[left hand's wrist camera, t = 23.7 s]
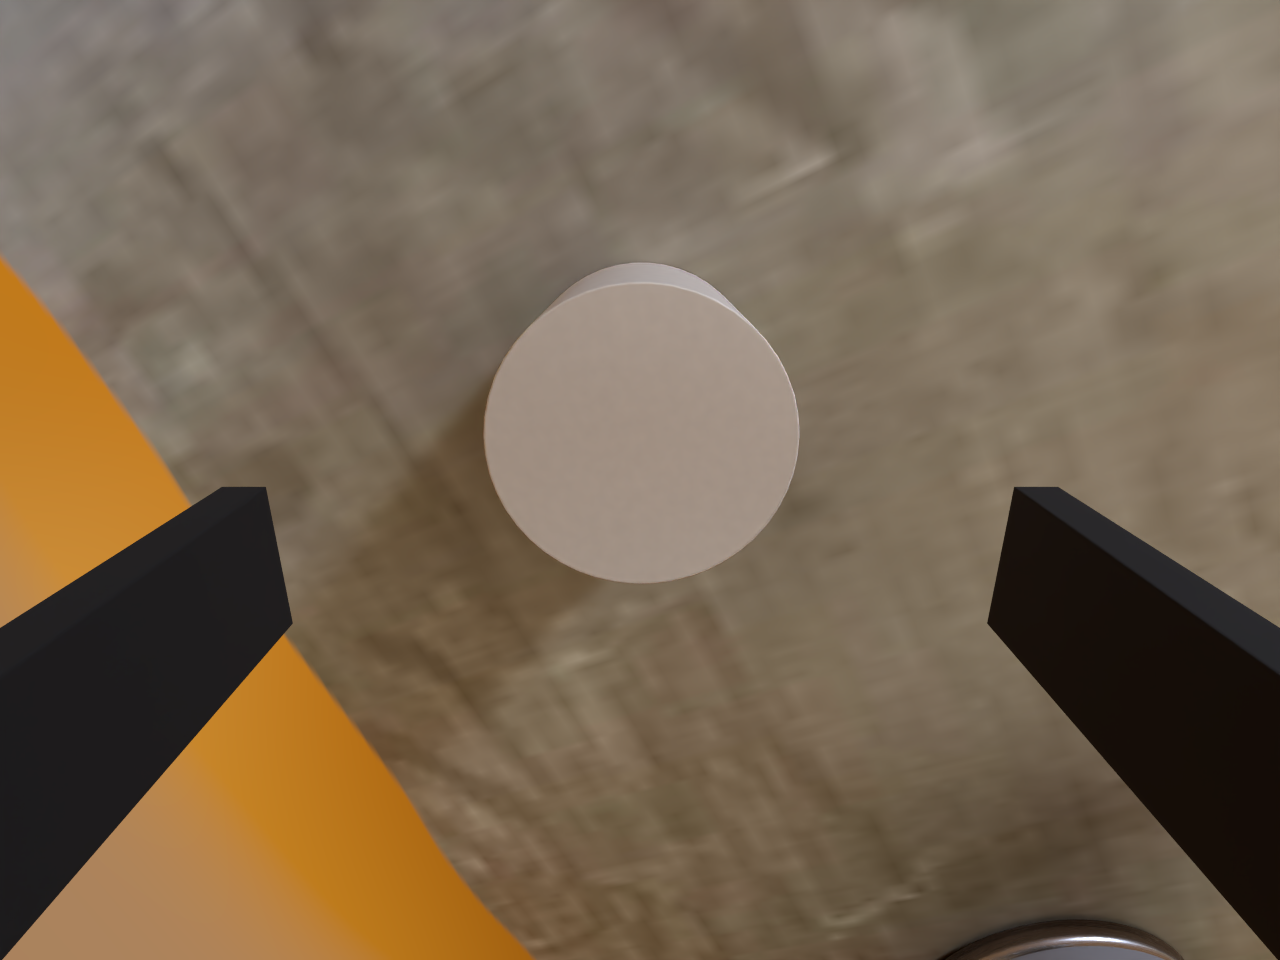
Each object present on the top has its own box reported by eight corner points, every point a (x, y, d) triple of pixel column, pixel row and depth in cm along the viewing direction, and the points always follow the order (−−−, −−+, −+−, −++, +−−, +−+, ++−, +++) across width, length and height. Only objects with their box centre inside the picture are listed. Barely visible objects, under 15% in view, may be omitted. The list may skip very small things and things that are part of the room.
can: (772, 467, 26) (816, 555, 19) (556, 508, 26) (528, 607, 20) (738, 238, 23) (777, 249, 16) (498, 290, 23) (442, 320, 17)
